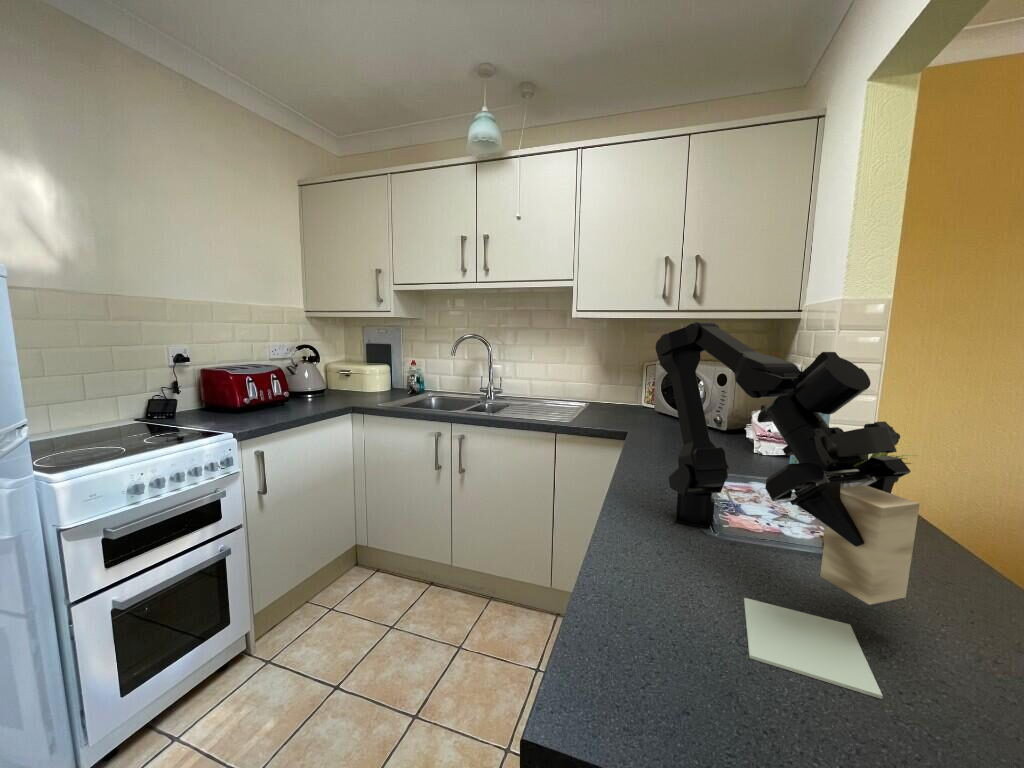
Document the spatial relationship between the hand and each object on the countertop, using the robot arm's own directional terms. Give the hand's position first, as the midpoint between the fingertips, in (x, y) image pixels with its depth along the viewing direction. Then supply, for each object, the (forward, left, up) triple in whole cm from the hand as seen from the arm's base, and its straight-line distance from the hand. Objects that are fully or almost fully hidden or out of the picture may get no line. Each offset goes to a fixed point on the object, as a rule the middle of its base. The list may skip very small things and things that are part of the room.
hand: (879, 542), depth 51 cm
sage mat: (-8, -5, -12) cm, 15 cm away
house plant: (+10, +46, -13) cm, 49 cm away
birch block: (-1, +1, -7) cm, 7 cm away
